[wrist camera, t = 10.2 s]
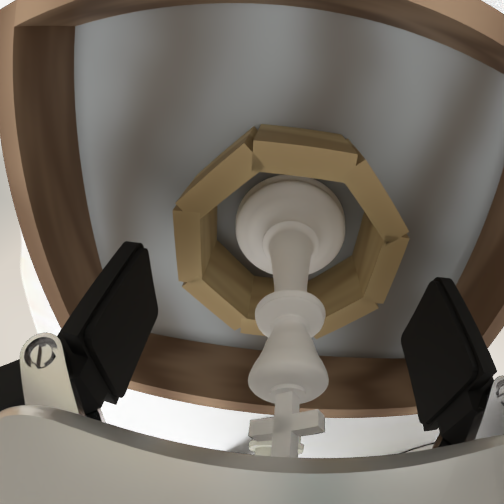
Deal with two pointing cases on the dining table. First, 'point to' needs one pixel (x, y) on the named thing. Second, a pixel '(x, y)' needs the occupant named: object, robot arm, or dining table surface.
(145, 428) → the dining table surface
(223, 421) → the dining table surface
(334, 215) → the chess piece
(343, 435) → the dining table surface
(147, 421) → the dining table surface
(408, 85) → the socket box
